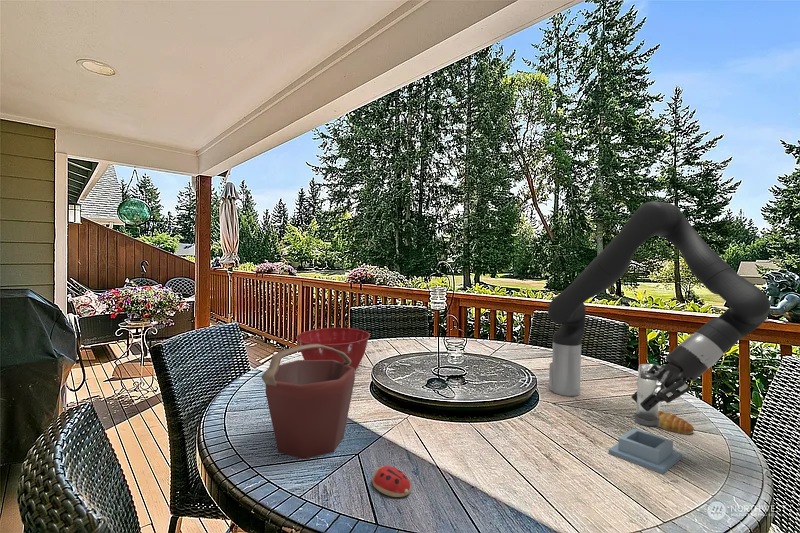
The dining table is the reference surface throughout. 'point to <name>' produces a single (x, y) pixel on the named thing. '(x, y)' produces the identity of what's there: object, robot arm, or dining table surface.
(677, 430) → the pastry
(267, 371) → the bucket
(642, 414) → the thermos
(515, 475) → the dining table surface
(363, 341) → the mixing bowl
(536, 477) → the dining table surface
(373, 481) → the ladybug figurine
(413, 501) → the dining table surface
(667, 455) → the dock
